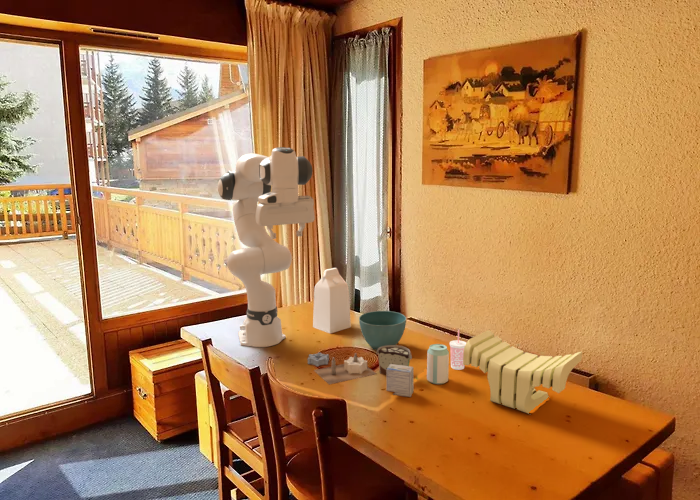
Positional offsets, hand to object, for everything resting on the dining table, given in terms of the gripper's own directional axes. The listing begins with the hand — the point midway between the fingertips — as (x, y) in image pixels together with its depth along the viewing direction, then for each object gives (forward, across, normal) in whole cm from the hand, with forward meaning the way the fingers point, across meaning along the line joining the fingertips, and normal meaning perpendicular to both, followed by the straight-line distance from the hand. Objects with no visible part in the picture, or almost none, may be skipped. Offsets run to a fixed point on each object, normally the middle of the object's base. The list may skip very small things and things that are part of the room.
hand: (286, 237), depth 185 cm
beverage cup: (+48, -52, +28) cm, 76 cm away
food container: (+48, -29, +24) cm, 61 cm away
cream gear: (+46, -18, +15) cm, 52 cm away
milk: (+48, -33, -33) cm, 66 cm away
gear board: (+47, -14, +15) cm, 51 cm away
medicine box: (+48, -23, +36) cm, 64 cm away
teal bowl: (+48, -39, -1) cm, 61 cm away
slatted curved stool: (+48, -52, +58) cm, 91 cm away
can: (+48, -39, +34) cm, 70 cm away
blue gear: (+47, -10, +2) cm, 48 cm away
